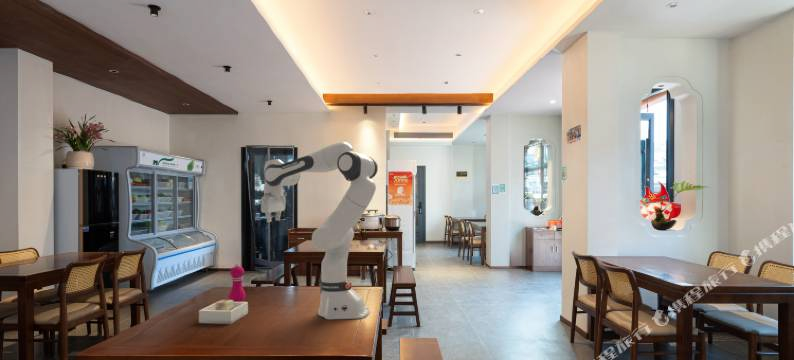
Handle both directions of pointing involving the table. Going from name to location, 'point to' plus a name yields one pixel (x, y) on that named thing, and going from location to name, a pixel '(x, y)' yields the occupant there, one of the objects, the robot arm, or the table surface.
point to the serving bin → (223, 313)
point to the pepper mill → (237, 284)
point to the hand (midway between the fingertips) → (273, 221)
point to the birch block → (224, 305)
